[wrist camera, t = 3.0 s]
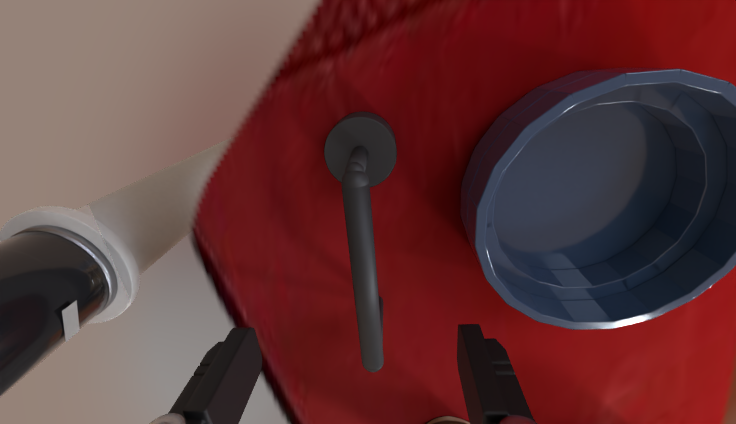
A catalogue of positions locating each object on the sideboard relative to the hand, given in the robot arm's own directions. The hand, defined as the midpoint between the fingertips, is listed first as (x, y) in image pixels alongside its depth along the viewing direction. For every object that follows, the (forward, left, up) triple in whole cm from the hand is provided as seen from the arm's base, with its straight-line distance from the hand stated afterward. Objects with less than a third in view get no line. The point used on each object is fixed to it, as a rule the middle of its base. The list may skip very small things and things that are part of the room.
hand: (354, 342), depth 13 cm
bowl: (+14, +1, -12) cm, 19 cm away
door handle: (0, 0, -12) cm, 12 cm away
